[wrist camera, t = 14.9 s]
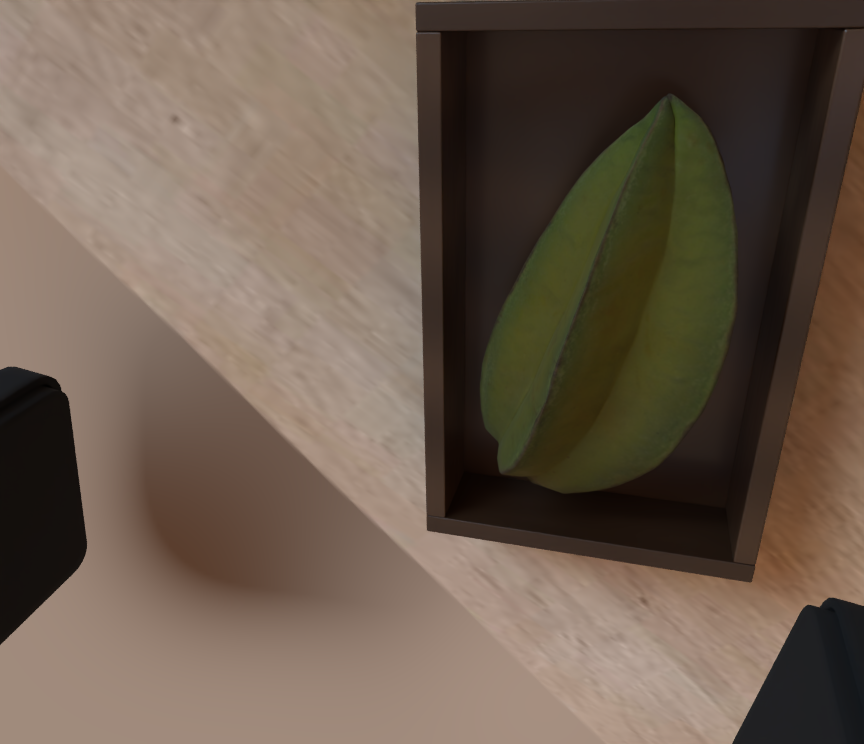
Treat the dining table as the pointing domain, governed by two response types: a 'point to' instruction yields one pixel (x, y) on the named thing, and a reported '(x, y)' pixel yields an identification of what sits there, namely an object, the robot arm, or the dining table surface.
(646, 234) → the fruit
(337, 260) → the dining table surface
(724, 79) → the holder
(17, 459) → the robot arm
